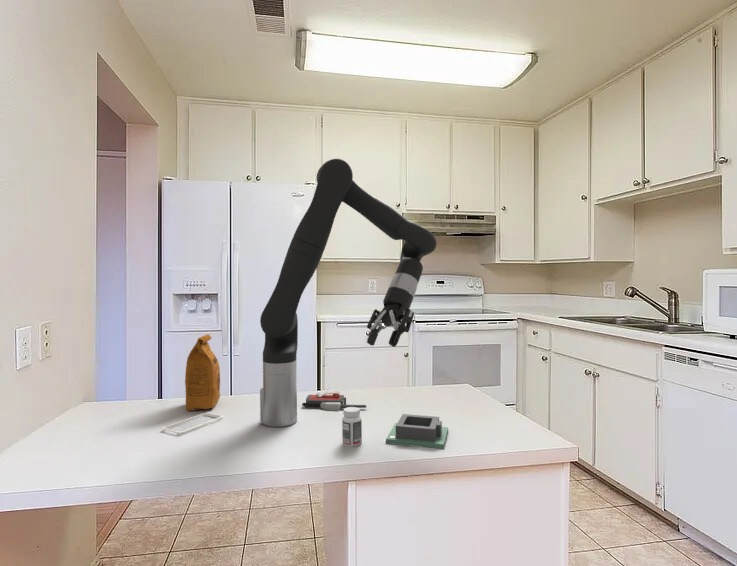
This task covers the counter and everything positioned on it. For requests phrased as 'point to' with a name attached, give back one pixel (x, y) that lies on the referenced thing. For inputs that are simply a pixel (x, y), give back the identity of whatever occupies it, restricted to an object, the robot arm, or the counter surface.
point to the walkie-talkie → (328, 401)
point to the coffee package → (202, 376)
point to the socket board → (418, 431)
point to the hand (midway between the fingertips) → (380, 344)
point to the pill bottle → (352, 427)
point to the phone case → (191, 420)
